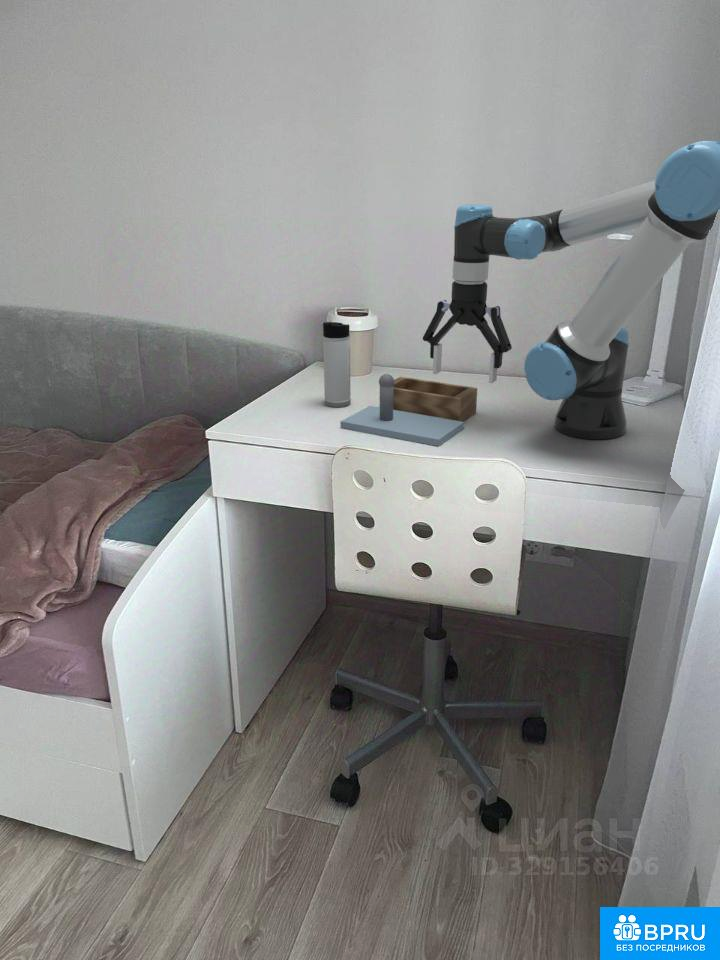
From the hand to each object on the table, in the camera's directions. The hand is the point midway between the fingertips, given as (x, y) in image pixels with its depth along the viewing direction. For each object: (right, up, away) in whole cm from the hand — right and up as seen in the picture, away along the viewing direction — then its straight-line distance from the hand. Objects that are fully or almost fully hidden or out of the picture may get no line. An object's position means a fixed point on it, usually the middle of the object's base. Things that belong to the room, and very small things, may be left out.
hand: (464, 377), depth 178 cm
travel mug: (-29, -5, +14) cm, 33 cm away
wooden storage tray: (-7, -7, +8) cm, 13 cm away
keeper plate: (-14, -12, -3) cm, 18 cm away
